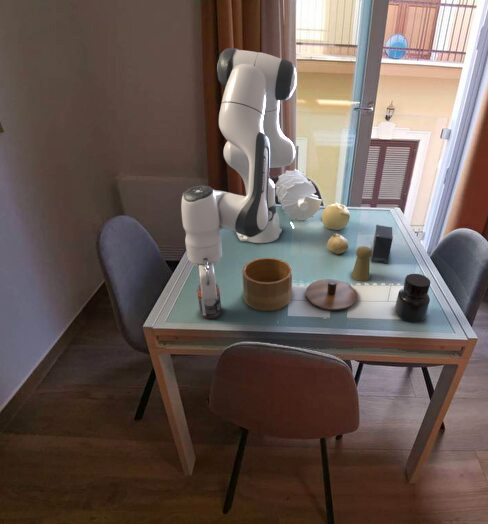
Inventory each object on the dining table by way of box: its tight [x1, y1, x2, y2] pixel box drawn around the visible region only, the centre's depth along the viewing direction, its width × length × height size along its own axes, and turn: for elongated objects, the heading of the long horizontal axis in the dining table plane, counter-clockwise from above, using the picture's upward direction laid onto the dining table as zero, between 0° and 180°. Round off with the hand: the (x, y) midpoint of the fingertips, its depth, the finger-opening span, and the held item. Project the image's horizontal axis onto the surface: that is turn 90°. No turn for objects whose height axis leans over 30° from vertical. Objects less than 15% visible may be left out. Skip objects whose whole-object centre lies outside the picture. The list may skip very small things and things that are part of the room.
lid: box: [305, 278, 358, 311], centre depth 111 cm, size 16×16×5 cm
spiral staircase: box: [274, 168, 323, 221], centre depth 165 cm, size 18×18×25 cm
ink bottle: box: [394, 272, 432, 323], centre depth 103 cm, size 10×9×12 cm
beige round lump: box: [321, 202, 351, 231], centre depth 154 cm, size 11×12×11 cm
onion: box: [326, 233, 349, 255], centre depth 136 cm, size 8×8×7 cm
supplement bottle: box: [196, 283, 222, 319], centre depth 100 cm, size 6×6×11 cm
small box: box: [370, 224, 394, 264], centre depth 133 cm, size 11×6×10 cm, turn 168°
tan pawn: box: [351, 245, 372, 282], centre depth 120 cm, size 6×6×11 cm
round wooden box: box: [241, 257, 293, 312], centre depth 108 cm, size 15×15×10 cm
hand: (209, 294), depth 99 cm, fingers open, 8 cm apart
